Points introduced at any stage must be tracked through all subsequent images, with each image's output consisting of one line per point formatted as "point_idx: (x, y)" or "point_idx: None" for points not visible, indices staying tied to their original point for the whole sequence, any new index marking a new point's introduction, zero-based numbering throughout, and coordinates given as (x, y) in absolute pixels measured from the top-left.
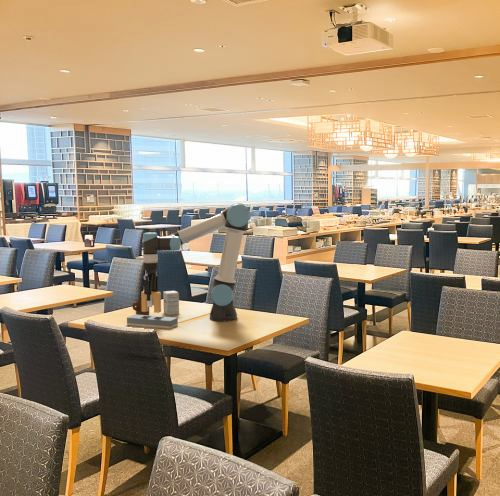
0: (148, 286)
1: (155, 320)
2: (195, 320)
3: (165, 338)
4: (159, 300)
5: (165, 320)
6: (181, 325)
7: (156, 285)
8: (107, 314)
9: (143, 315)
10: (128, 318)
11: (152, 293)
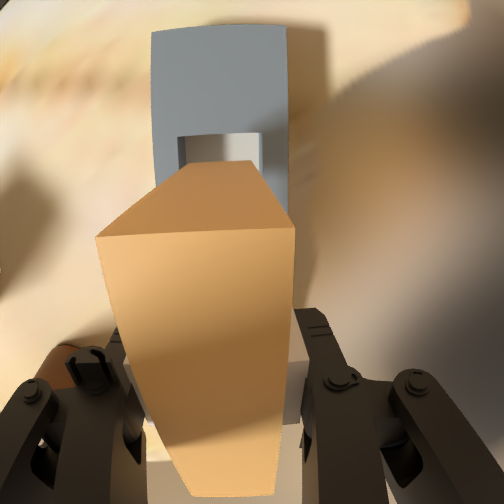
0: (485, 499)
1: (286, 161)
2: (31, 41)
3: (460, 20)
4: (212, 181)
5: (286, 67)
6: (167, 22)
7: (13, 483)
8: (147, 458)
9: None
10: None
11: (282, 371)
